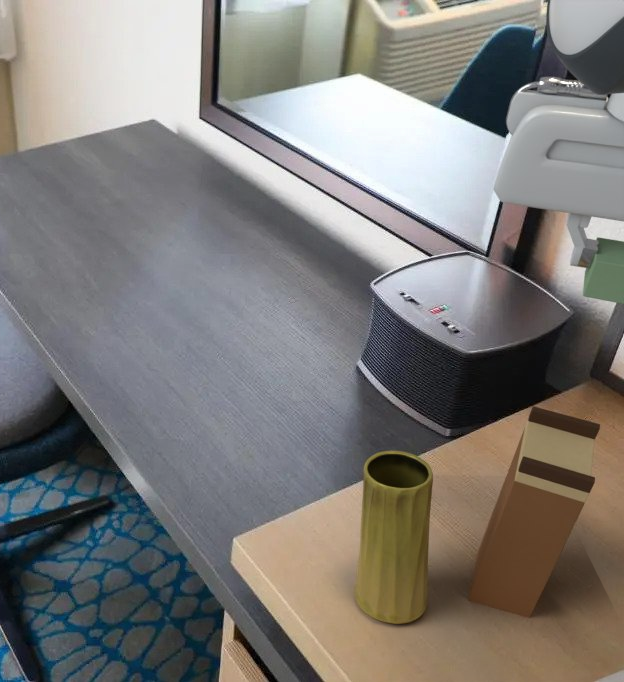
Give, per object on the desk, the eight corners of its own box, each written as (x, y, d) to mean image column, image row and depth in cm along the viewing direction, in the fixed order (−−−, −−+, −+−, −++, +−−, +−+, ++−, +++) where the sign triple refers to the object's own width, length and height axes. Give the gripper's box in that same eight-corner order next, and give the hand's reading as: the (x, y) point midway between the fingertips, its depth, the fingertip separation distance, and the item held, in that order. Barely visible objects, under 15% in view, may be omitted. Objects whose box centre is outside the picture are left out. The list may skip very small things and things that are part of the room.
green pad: (642, 308, 58) (658, 271, 56) (582, 296, 60) (595, 260, 58) (642, 282, 61) (656, 246, 59) (584, 272, 63) (597, 236, 61)
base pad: (525, 627, 67) (595, 482, 56) (465, 605, 69) (522, 460, 58) (534, 569, 72) (600, 423, 61) (478, 549, 74) (532, 405, 63)
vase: (433, 627, 66) (445, 494, 59) (357, 623, 67) (361, 493, 61) (420, 574, 71) (431, 446, 65) (350, 571, 73) (354, 446, 66)
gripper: (512, 87, 53) (468, 263, 61) (898, 125, 45) (789, 323, 53) (521, 61, 58) (479, 228, 66) (875, 91, 49) (777, 278, 57)
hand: (620, 271), depth 59 cm, fingers closed on green pad, 4 cm apart
